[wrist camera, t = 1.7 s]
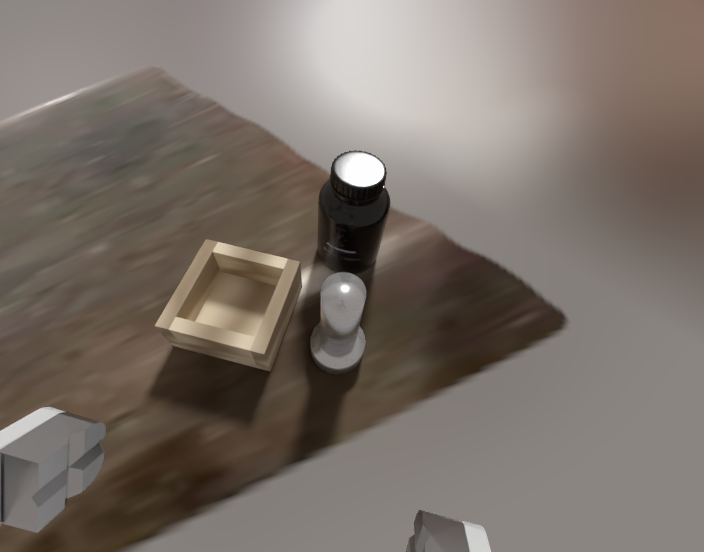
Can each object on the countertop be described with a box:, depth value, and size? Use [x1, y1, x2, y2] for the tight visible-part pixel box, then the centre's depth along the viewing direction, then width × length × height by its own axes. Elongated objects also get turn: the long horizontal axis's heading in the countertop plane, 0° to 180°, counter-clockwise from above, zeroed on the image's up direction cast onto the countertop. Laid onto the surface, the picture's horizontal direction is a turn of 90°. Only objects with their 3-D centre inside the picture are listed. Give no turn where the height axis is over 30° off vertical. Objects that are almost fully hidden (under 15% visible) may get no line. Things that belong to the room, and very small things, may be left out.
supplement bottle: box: [318, 151, 390, 274], centre depth 35 cm, size 7×7×12 cm
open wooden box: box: [155, 239, 302, 372], centre depth 33 cm, size 9×9×4 cm
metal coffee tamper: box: [310, 272, 366, 374], centre depth 30 cm, size 5×5×11 cm
